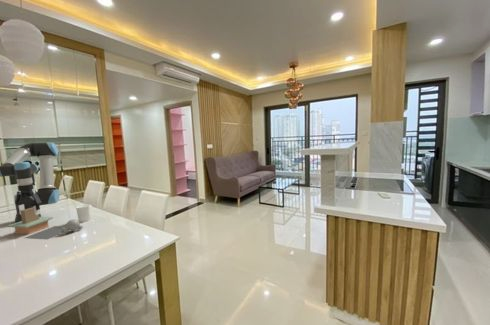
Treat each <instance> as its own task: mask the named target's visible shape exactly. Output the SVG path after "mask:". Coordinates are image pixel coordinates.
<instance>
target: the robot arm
mask: <svg viewBox="0 0 490 325" xmlns="http://www.w3.org/2000/svg"><path fill="white" fill-rule="evenodd" d="M58 155H59V149H58V147H57V145H56V144H55V143H54V142H47V141H46V142H29V143H26V144H24V145H20V146H19V147H17V148H16V149H15V150H14V152H13V154H12V155H11V156H10V157H8V159H6V161H5V162H3V163H2V164H1V165H0V177H3V178H4V177H12V176H15V178H16V185H17V190H18V191H16V194H15V195H14V197H13V199H14V200H13V201H14V206H15V211H16V214H15V217H14V223H18V222H21V221H22V217H21V212H20V211H21V210H25V209H29V208H32V207H34V211H35V215H38V214H39V217H42V214H41V206H47V205H53V204H56V203H58V202H59V199H60V197H61V196H60V195H61V194H60V190H59V189H57V187H56V186H55V176H54V173H55V172H54V159H56V156H58ZM32 157H34V158H35V157H36V158H37V159H39V166H38V165H37V164H35V163H30V162H29V161H26V159H29V158H32ZM38 171H39V177H40V178H39V187H38V188H37V190H34V181H33V176H32V175H33V174H36V173H37V172H38Z"/></svg>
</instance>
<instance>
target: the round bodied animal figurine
mask: <svg viewBox="0 0 490 325" xmlns="http://www.w3.org/2000/svg"><path fill="white" fill-rule="evenodd" d="M61 228H62V227H61ZM83 228H84V227H83V225H82V224H81V222H79V219H74V218H73V219H70V220H68V221H67V222H66V224H65V227H64V228H62V230H61V231H62V232H61V233H59V235H61V236H65V235H67V234H68V233H69V232H70V231H71V232H73V233H77V232H79V230H81V229H83Z"/></svg>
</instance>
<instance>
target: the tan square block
mask: <svg viewBox="0 0 490 325" xmlns="http://www.w3.org/2000/svg"><path fill="white" fill-rule="evenodd" d="M48 228H49V220H48V221H45V222H42V223H39V224H36V225H33V226H30V227H28V228H21V227H14V231H15V235H18V234H21V235H22V234H23V235H32V234H33V233H34V234H35V233H37V232H40V231H43V230H45V229H48Z"/></svg>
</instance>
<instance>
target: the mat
mask: <svg viewBox="0 0 490 325" xmlns="http://www.w3.org/2000/svg"><path fill="white" fill-rule="evenodd" d="M61 227H62V228H64V227H66V225H64V226H62V225H54V226H51V227H50V228H49V227H48V228H45V229H42V230H40V231H37V232H35V233H34V234H33V233H32V234H29V235H28V236H25V237H24V239H33V240H49V239H52V238H54V237H56V236H59V235H60V234H59V233H61V232H62V231H61V230H62V228H61Z"/></svg>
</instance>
